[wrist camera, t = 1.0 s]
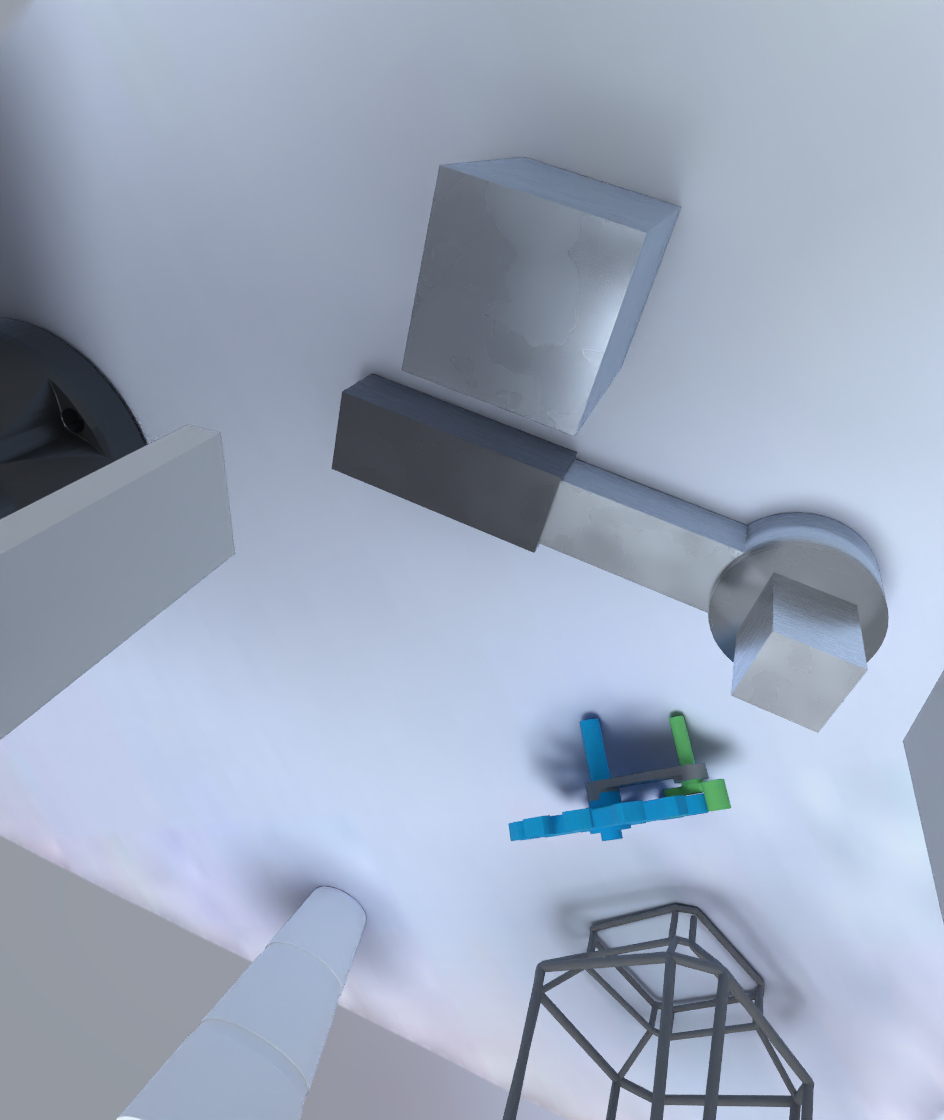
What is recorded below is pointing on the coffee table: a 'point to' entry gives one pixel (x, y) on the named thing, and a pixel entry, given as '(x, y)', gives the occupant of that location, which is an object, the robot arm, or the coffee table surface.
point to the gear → (604, 791)
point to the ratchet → (639, 541)
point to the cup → (263, 1025)
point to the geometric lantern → (667, 1020)
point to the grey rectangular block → (532, 286)
